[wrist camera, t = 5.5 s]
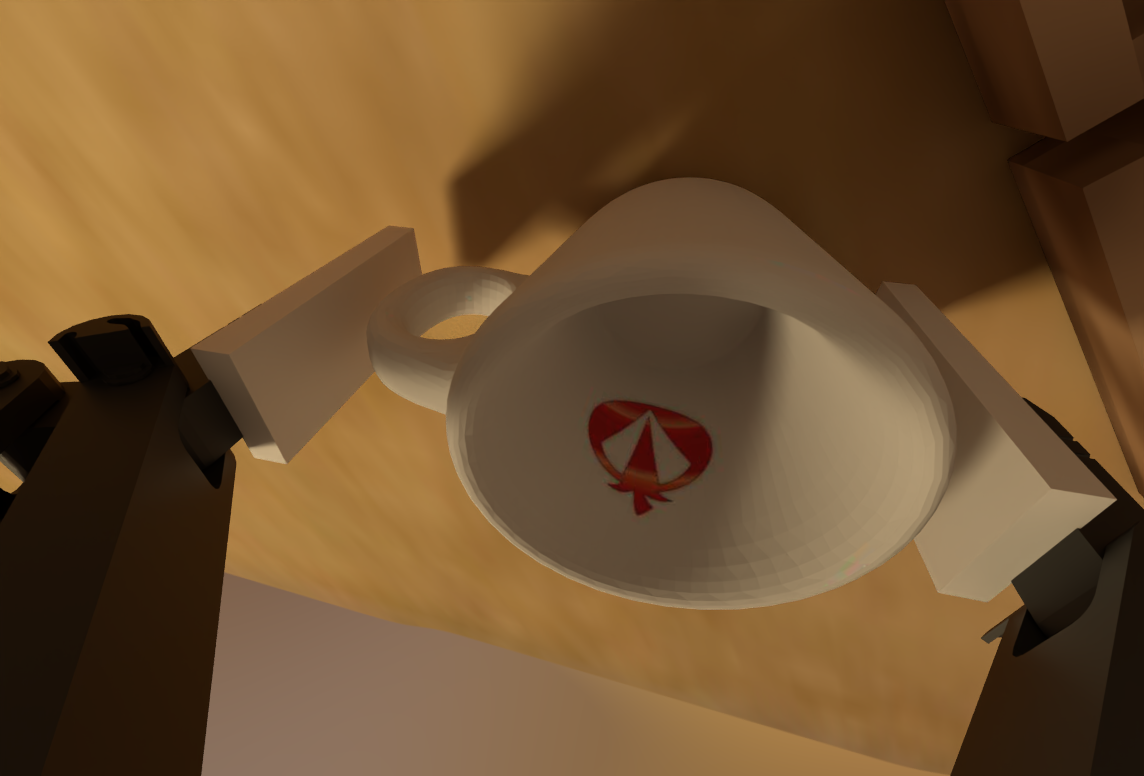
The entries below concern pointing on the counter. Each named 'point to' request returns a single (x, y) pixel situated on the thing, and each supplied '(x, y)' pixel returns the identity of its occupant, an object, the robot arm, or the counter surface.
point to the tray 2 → (1098, 255)
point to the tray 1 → (1053, 60)
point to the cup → (681, 403)
